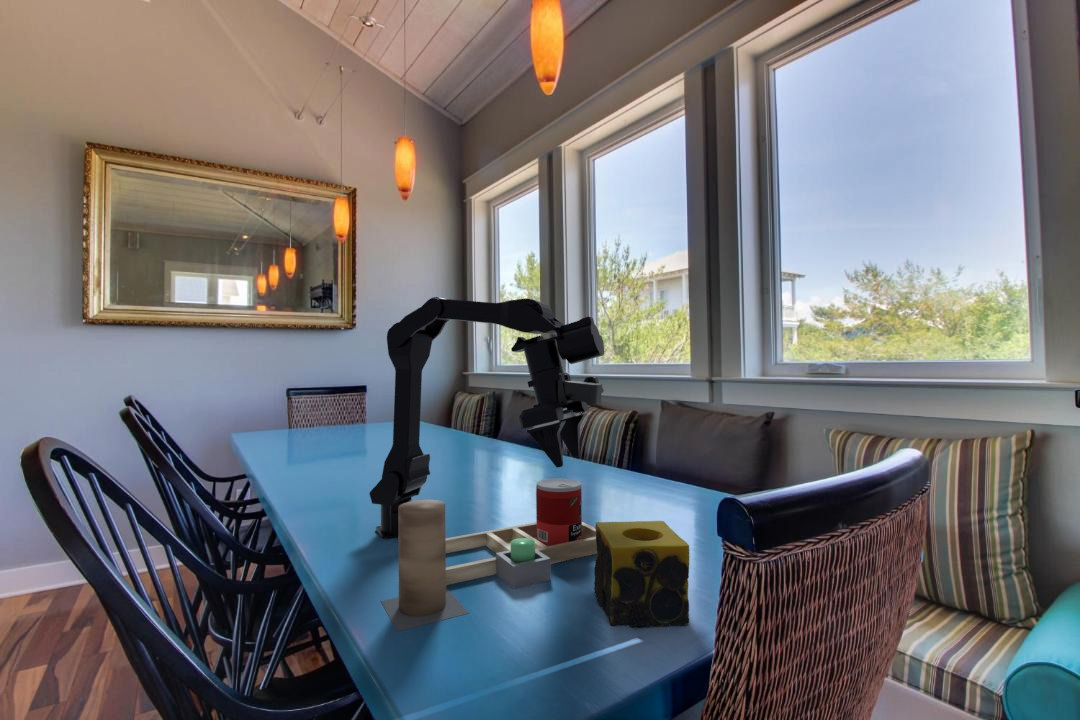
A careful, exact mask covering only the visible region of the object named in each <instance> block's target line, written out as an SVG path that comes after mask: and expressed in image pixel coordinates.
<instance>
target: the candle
mask: <svg viewBox="0 0 1080 720" xmlns="http://www.w3.org/2000/svg"><path fill="white" fill-rule="evenodd" d="M594 528H595V530H596V544H597V554H596V556H595V564H594V567H593V568H594V582H593V583H594V587H593V589H594V590H593V591H594V592H593V593H594V594H595V597H596V601H597V603H598V604H599V607H600V608H602V611H604V613H605V614H606V616H607V618H608V623H609V625H610V626H611V627H624V626H625V627H630V628H633V629H634V628H643V629H644V628H657V627H669V626H688V625H689V623H690V613H689V612H690V602H689V601H690V600H689V573H690V544H689V543H688V542H687V541H685V540H684V539H683V538H681V536H679V535H678V534H677V532H675V531H674V530H673V529H672V528H671V527H670V526H669V525H668V524H667V522H665V521H663V520H649V521H647V520H645V521H643V520H640V521H639V520H637V521H602V522H601V521H600V522H599V521H597V522H595V527H594Z"/></svg>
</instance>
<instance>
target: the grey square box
mask: <svg viewBox="0 0 1080 720" xmlns="http://www.w3.org/2000/svg"><path fill="white" fill-rule="evenodd" d="M495 557H496V574H495V575H496V576H497V577H498V578H500V579H501V580H503V582H505V583H506V584H507V585H508V586H510V588H512V589H513V590H516V589H521V588H524V587H528V586H532V585H536V584H541V583H544V582H549V581H551V579H552V577H551V576H552V575H551V573H552V572H551V571H552V569H551V565H552V564H551V559H550V558H549V557H547V556H546V555H544V554H543V553H541V552H540V551H538V550H537V549H535V560H531V561H526V562H521V563H517V564H516V563H515V562H513V561H512V560H511V550H509V551H504V552H499V553H495Z"/></svg>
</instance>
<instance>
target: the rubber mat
mask: <svg viewBox="0 0 1080 720" xmlns="http://www.w3.org/2000/svg"><path fill="white" fill-rule="evenodd" d="M380 603H381V605H382V606H383V608H384V610H385V612H386V614H387V616H388V617H389V620H390V622H391V623H392V625H393V627H394V628H395V631H396V633H398V632H402V631H406V630H409V629H414V628H417V627H422V626H426V625H429V624H433V623H437V622H441V621H444V620H449V619H453V618H457V617H460V616H464V615H468V614H470V613H469V612H468V610H467V609H466V608H465V606H463V605H462V603H461V602H460V601H459V600H458V599H457V597H456V596H455V595H454V594H453V593H452V592H451V591H450V590H449V588H448V587H447V586H446V605H445V607H444V608H443V609H442V610H441V611H439V612H437V613H434V614H431V615H427V616H420V617H414V616H407V615H404V614H402V613H401V612H400V611H399V596H398V597H393V598H389V599H384V600H380Z"/></svg>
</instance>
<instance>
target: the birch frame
mask: <svg viewBox="0 0 1080 720" xmlns="http://www.w3.org/2000/svg"><path fill="white" fill-rule="evenodd" d="M518 538H528V539H532V540H534V541H535V549H537V550H538V551H540V552H541V553H543V554H544V555H546V556H547V557H549V558H550V559H551V565H552V564H557V563H562V562H567V561H571V560H575V559H574V558H576V559H579V557H580V558H583V557H584V556H585V557H588V556H592V554H593V555H597V544H596V530H595V527H594V526H592V525H590V524H587V523H586V522H583V521H582V539H581V540H576V541H572V542H567V543H562V544H557V545H552V546H546V545H544V544H543V543H541V542H539V541H538V540H537V522H536V521H535V522H531V523H524V524H519V525H513V526H507V527H502V528H496V529H491V530H485V531H481V532H479V531H478V532H475V533H468V534H463V535H457V536H452V537H446V554H448V553H454V552H460V551H465V550H470V549H476V548H481V547H482V548H483V547H487V548H489V550H491V551H493V552H494V553H495V554H496V553H499V552H504V551H509V550H511V541H512V540H514V539H518ZM570 559H571V560H570ZM566 560H567V561H566ZM561 561H562V562H561ZM493 575H496V556H495V557H490V558H484V559H479V560H475V561H470V562H466V563H461V564H460V563H459V564H456V565H455V564H454V565H451V566H446V586H448V585H453V584H454V585H455V584H458V583H462V582H467V581H471V580H475V579H481V578H485V577H490V576H493Z"/></svg>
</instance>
